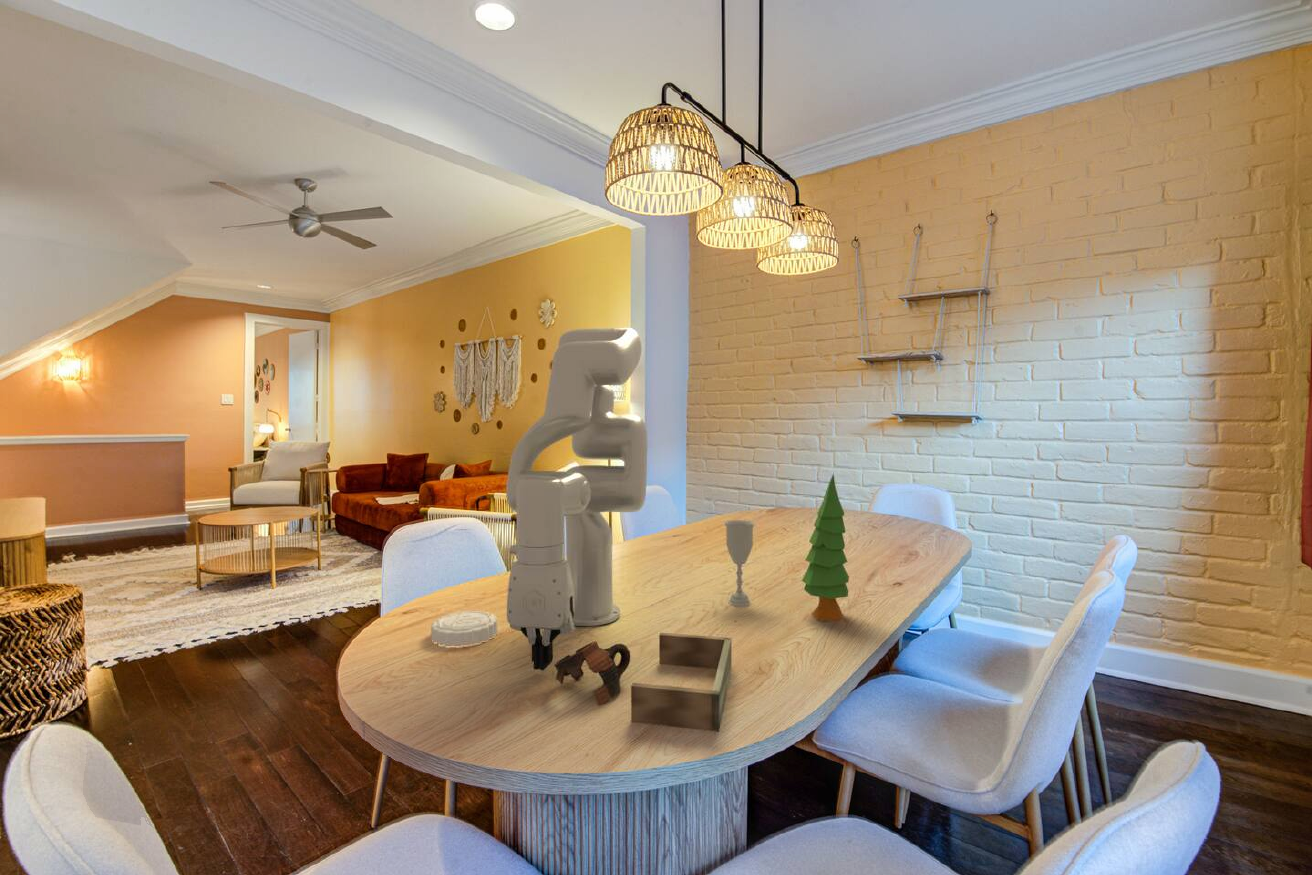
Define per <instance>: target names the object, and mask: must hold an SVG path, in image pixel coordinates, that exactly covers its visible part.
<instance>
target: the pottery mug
mask: <svg viewBox="0 0 1312 875" xmlns="http://www.w3.org/2000/svg"><path fill="white" fill-rule="evenodd" d="M617 654H619V655H620V660H619V663H618V664H616V662H615V657H616V655H617ZM584 662H586V664H587V665H588V669H589V670H590V671H591V672H592V673H595V674H597V673H598V675H599V677H600V678H601V680H602V684H601V686H599V687H598V688H596V689H595V690H593V692H592V693H593V695H594V698H595V700H596V702H597V706H601V705H603V704H606V703H607V702H609V700H611V699H613V698H615V697H616V696H618V695H619V694H620V693H621V691H622V690H621V680H620V679H621V677H622V675H623V673H625V672H626V670H627V669H628V667H629V665H630V662H631V651H630V650H629V648H628V647H627V645H626V644H623V643H615V644H613V645H612V646H610V647H608V648H602V647H600V646H599V644H598V641H596V640H595V641H592V642H590V643H588V644H586V645H584V646H582V647H580V648H578V649H576V650H575V653H574V654H572V655H570V654H568V655H566V656H564V657H562V658H561V659H560V660H558V661H557V662H556V663H555V664H554V665H553V666H554V667H555V669H556V672H557V673H556V675H555V680H557V681H558V682H559V683H560V684H561V685H562V684H564V677H568V676H570V677H572V678H573V680H575V681H579V680H580V679H581V678H582V677H583V675H584V670H583V669H582V666H583V664H584Z"/></svg>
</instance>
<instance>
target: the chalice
mask: <svg viewBox="0 0 1312 875" xmlns="http://www.w3.org/2000/svg"><path fill="white" fill-rule="evenodd" d="M723 523H724V526H725V528H726V529H725V530H726V547H727V550H728V554H729V556H730V558H731V561H732V562H733V564H735V565H736V569H737V570H736V573H735V574H736V580H735V583H736V585H737V587H736V589H735V591H733V592H732V593H731V594H730V597H729V600H728V602H727V604H729V606H731V607H740V608H743V607H744V608H746V607H749V606H751V604H752V603H751V601H750V598H749V597H748V593H747V592H746V591H744V590H743V588H742V585H743V583H744V581H743V578H742V575H743V570H742V567H743V565H745V564H746V563H747V561H748V559H749V556H751V552H752V548H753V546H754V544H753V543H754V541H753V540H754V538H753V536H754V534H753V532H754V531H753V530H754V527H755V524H756V522H754V521H750V520H742V519H735V520H725V521H724V522H723Z"/></svg>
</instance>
